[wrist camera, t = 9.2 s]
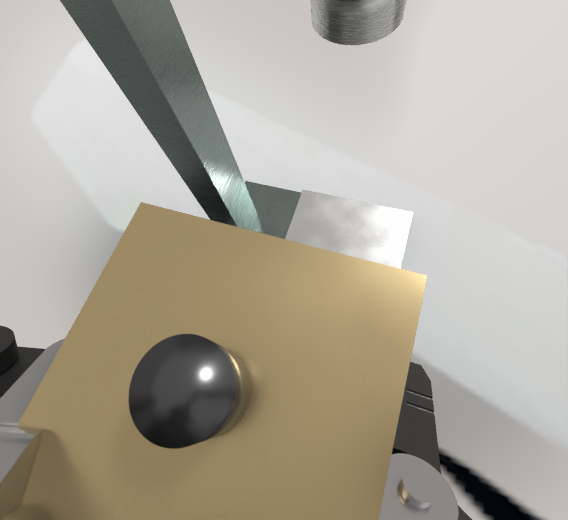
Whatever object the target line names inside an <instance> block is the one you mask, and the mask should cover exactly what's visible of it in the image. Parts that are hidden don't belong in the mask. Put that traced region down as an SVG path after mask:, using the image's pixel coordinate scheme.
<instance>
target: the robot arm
mask: <svg viewBox="0 0 568 520" xmlns="http://www.w3.org/2000/svg"><path fill="white" fill-rule="evenodd" d="M64 340H65V339H63V340H60V341H58V342H56V343H54V344H52V345H51V346H49V347H48V348H47V349H37V348H26V347H17V344H16V340H15V336H14V333H13V331H12V330H11V329H9V328H7V327H4V326H0V520H3V519H4V518H5V517H6V516H7V515H8V514H9V513H10V512H11V511H13V510H14V509H16V508H18V507H21V504H22V501H23V498H24V494H25V491H26V488H27V485H28V481H29V478H30V475H31V472H32V468H33V465H34V462H35V459H36V455H37V452H38V449H39V446H40V442H41V439H42V436H43V433H44V429H42V428H34V427H25V426H17V425H18V423H19V421H20V419H21V417H22V416H23V414H24V412H25V410H26V408H27V407H28V405H29V403H30V401H31V399H32V398H33V396H34V394H35V392H36V390H37V389H38V387H39V385H40V383H41V381H42V380H43V378H44V376H45V374H46V372H47V371H48V369H49V367H50V365H51V363H52V362H53V360H54V358H55V356H56V354H57V353H58V351H59V349H60V347H61V345H62V344H63V342H64ZM433 412H434V407H433V400H432V388H431V381H430V379H429V378H428V376H427V374H426V373H425V371H424V369H423V368H422V366H421V365H418V364H415V363H412V362H410V365H409V370H408V375H407V380H406V385H405V390H404V395H403V400H402V405H401V410H400V415H399V420H398V425H397V430H396V435H395V440H394V445H393V450H392V455H391V460H390V465H389V470H388V474H387V479H386V484H385V489H384V494H383V499H382V504H381V509H380V514H379V519H378V520H472V519H471V518H470V517H469V516H468V515H467V514H466V513H465V512H464V511H463V510H462V509H461V508H460V507H459V506H458V505H457V500H456V498H455V495H454V493H453V491H452V489H451V487H450V485H449V484H448V482H447V481H446V480H445V478H444V477H443V476H442V475H441V470H440V462H439V452H438V443H437V434H436V425H435V416H434V414H433Z"/></svg>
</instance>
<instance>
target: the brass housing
mask: <svg viewBox="0 0 568 520" xmlns="http://www.w3.org/2000/svg"><path fill="white" fill-rule="evenodd" d="M426 280H427V276H426V275H423V274H419V273H415V272H411V271H407V270H403V269H399V268H395V267H391V266H387V265H384V264H380V263H376V262H372V261H368V260H364V259H360V258H356V257H352V256H348V255H345V254H341V253H337V252H333V251H329V250H325V249H321V248H317V247H313V246H310V245H306V244H302V243H298V242H294V241H290V240H286V239H282V238H278V237H274V236H271V235H267V234H263V233H259V232H255V231H251V230H247V229H243V228H239V227H235V226H232V225H228V224H224V223H220V222H216V221H212V220H208V219H204V218H200V217H196V216H193V215H189V214H185V213H181V212H177V211H173V210H169V209H165V208H161V207H158V206H154V205H150V204H146V203H142V202H141V203H140V205H139V207H138V209H137V211H136V212H135V214H134V216H133V218H132V220H131V221H130V223H129V225H128V227H127V229H126V230H125V232H124V234H123V236H122V238H121V239H120V241H119V243H118V245H117V247H116V249H115V250H114V252H113V254H112V256H111V257H110V259H109V261H108V263H107V265H106V267H105V268H104V270H103V272H102V274H101V275H100V277H99V279H98V281H97V283H96V285H95V286H94V288H93V290H92V292H91V293H90V295H89V297H88V299H87V301H86V302H85V304H84V306H83V308H82V310H81V312H80V313H79V315H78V317H77V319H76V321H75V322H74V324H73V326H72V328H71V329H70V331H69V333H68V335H67V336H66V338H65V340H64V342H63V344H62V345H61V347H60V349H59V351H58V353H57V354H56V356H55V358H54V360H53V362H52V363H51V365H50V367H49V369H48V371H47V372H46V374H45V376H44V378H43V380H42V381H41V383H40V385H39V387H38V389H37V390H36V392H35V394H34V396H33V398H32V399H31V401H30V403H29V405H28V407H27V408H26V410H25V412H24V414H23V416H22V417H21V419H20V421H19V423H18V425H17V426H25V427H34V428H42V429H44V433H43V436H42V439H41V442H40V446H39V449H38V452H37V455H36V459H35V462H34V465H33V468H32V472H31V475H30V478H29V481H28V485H27V488H26V491H25V494H24V498H23V501H22V504H21V507H18V508H16V509H14V510H13V511H11V512H10V513H9V514H8V515H7V516H6V517H5V518H4V519H3V520H378V519H379V514H380V509H381V504H382V499H383V494H384V489H385V484H386V479H387V474H388V470H389V465H390V460H391V455H392V450H393V445H394V440H395V435H396V430H397V425H398V420H399V415H400V410H401V405H402V400H403V395H404V390H405V385H406V380H407V375H408V370H409V365H410V360H411V355H412V350H413V345H414V340H415V335H416V330H417V325H418V320H419V315H420V310H421V305H422V300H423V295H424V290H425V285H426Z"/></svg>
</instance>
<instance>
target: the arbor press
mask: <svg viewBox="0 0 568 520" xmlns="http://www.w3.org/2000/svg"><path fill="white" fill-rule="evenodd" d="M60 1H61V2H62V4H63V5H64V6H65V8H66V10H67V11H68V13H69V14H70V15H71V17H72V18H73V20H74V21H75V23H76V24H77V26H78V27H79V29H80V30H81V31H82V33H83V34H84V36H85V37H86V39H87V40H88V42H89V43H90V45H91V46H92V48H93V49H94V50H95V52H96V53H97V55H98V56H99V58H100V59H101V61H102V62H103V64H104V65H105V67H106V68H107V69H108V71H109V72H110V74H111V75H112V77H113V78H114V80H115V81H116V83H117V84H118V85H119V87H120V88H121V90H122V91H123V93H124V94H125V96H126V97H127V99H128V100H129V102H130V103H131V104H132V106H133V107H134V109H135V110H136V112H137V113H138V115H139V116H140V118H141V119H142V120H143V122H144V123H145V125H146V126H147V128H148V129H149V131H150V132H151V134H152V135H153V137H154V138H155V139H156V141H157V142H158V144H159V145H160V147H161V148H162V150H163V151H164V153H165V154H166V155H167V157H168V158H169V160H170V161H171V163H172V164H173V166H174V167H175V169H176V170H177V172H178V173H179V174H180V176H181V177H182V179H183V180H184V182H185V183H186V185H187V186H188V188H189V189H190V190H191V192H192V193H193V195H194V196H195V198H196V199H197V201H198V202H199V204H200V205H201V207H202V208H203V209H204V211H205V212H206V214H207V215H208V217H209V218H210V220H212V221H216V222H220V223H224V224H228V225H232V226H235V227H239V228H243V229H247V230H251V231H255V232H259V233H263V234H267V235H271V236H274V237H278V238H282V239H286V240H290V241H294V242H298V243H302V244H306V245H310V246H313V247H317V248H321V249H325V250H329V251H333V252H337V253H341V254H345V255H348V256H352V257H356V258H360V259H364V260H368V261H372V262H376V263H380V264H384V265H387V266H391V267H395V268H399V269H400V268H401V264H402V259H403V255H404V250H405V246H406V242H407V237H408V233H409V228H410V224H411V220H412V215H413V212H409V211H404V210H399V209H394V208H389V207H385V206H380V205H375V204H370V203H365V202H360V201H356V200H351V199H346V198H341V197H336V196H331V195H327V194H322V193H317V192H312V191H307V190H302V193H300V192H295V191H291V190H286V189H281V188H276V187H272V186H267V185H262V184H257V183H253V182H248V181H246V182H245V183H244V180H243V178H242V176H241V173H240V171H239V168H238V166H237V163H236V161H235V158H234V156H233V154H232V151H231V149H230V146H229V144H228V141H227V139H226V136H225V134H224V132H223V129H222V127H221V124H220V122H219V119H218V117H217V114H216V112H215V110H214V107H213V105H212V102H211V100H210V97H209V95H208V92H207V90H206V88H205V85H204V83H203V80H202V78H201V76H200V73H199V71H198V68H197V66H196V63H195V61H194V58H193V56H192V53H191V51H190V49H189V46H188V44H187V42H186V39H185V36H184V34H183V31H182V29H181V27H180V24H179V22H178V19H177V17H176V14H175V12H174V9H173V7H172V5H171V2H170V0H60ZM405 4H406V0H311V13H312V24H313V27H314V29H315V31H316V32H317V33H318V34H319V35H320V36H322V37H323V38H324V39H327V40H329V41H331V42H333V43H337V44H343V45H361V44H367V43H371V42H374V41H377V40H379V39H382V38H384V37H385V36H387V35H389V34H390V33H391V32H393V31H394V30H395V29H396V28H397V27H398V26H399V24H400V23H401V21H402V19H403V15H404V9H405Z"/></svg>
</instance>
